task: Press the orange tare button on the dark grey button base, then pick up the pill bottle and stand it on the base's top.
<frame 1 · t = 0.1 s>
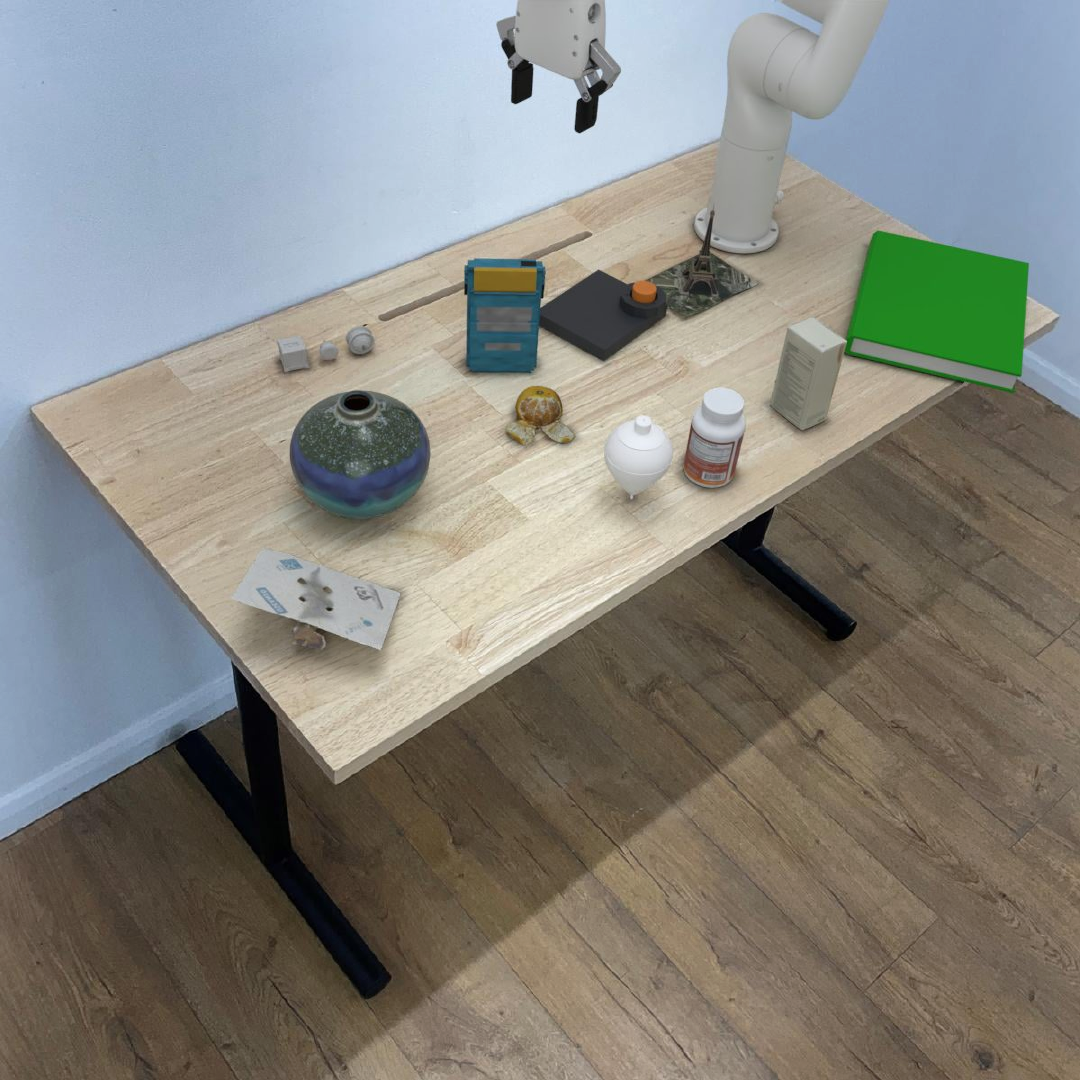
hand: (552, 114, 138), 29 cm above the table, tool pointing down, fingers open, 9 cm apart
fruit: (535, 427, 143), on the table
spinning top: (630, 500, 135), on the table
book: (935, 316, 164), on the table
eiffel tower figurine: (696, 287, 166), on the table
teal case: (501, 367, 151), on the table
card: (295, 636, 119), on the table
cosmetic box: (796, 413, 148), on the table
toy set: (331, 356, 148), point 2 cm above the table
vase: (363, 492, 133), on the table
tare button: (644, 292, 157), point 4 cm above the table, slide at 0.1 cm
pill bottle: (707, 473, 139), on the table
dark grey button base: (600, 319, 159), on the table
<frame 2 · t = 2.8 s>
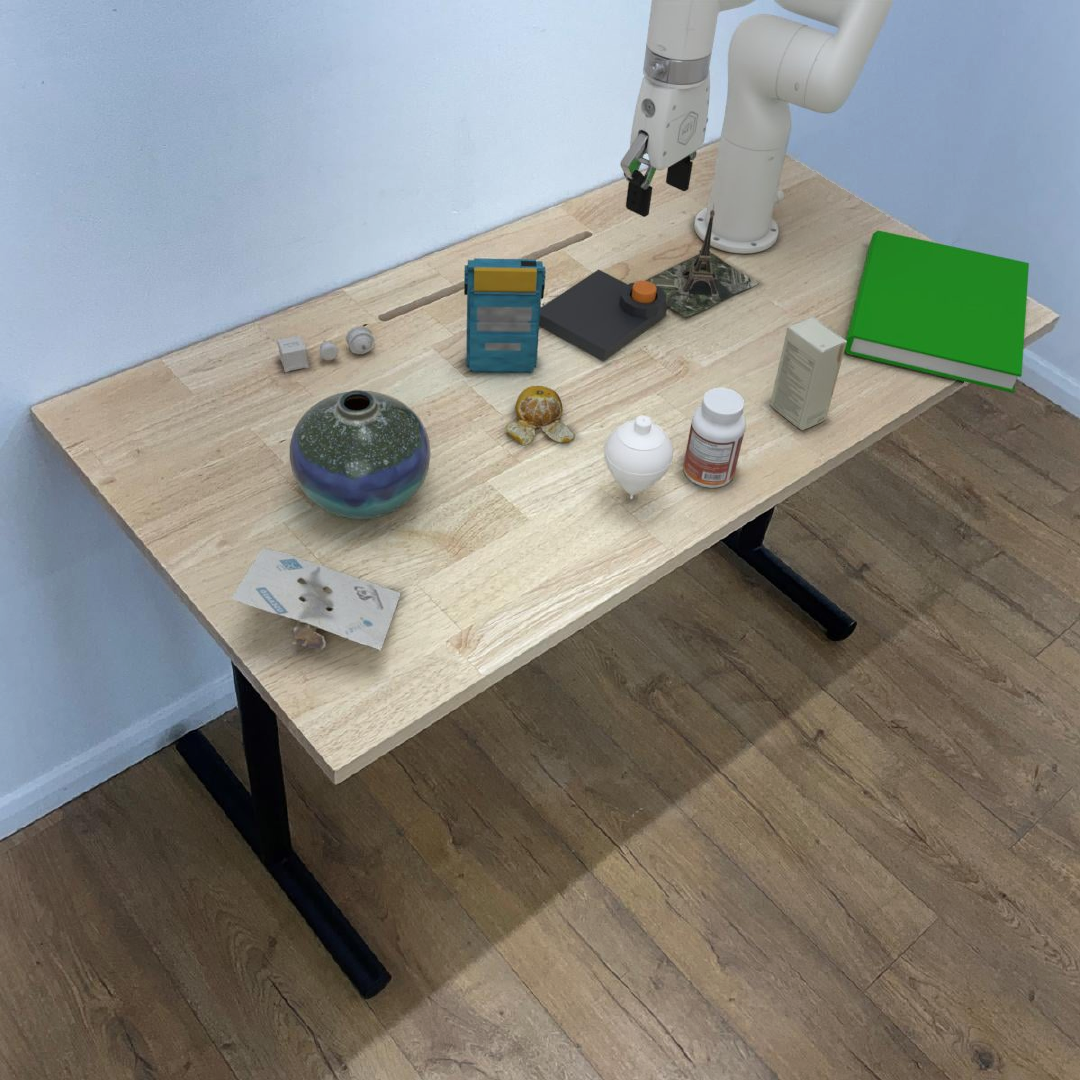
hand: (657, 198, 147), 18 cm above the table, tool pointing down, fingers open, 7 cm apart
nothing on the table moved.
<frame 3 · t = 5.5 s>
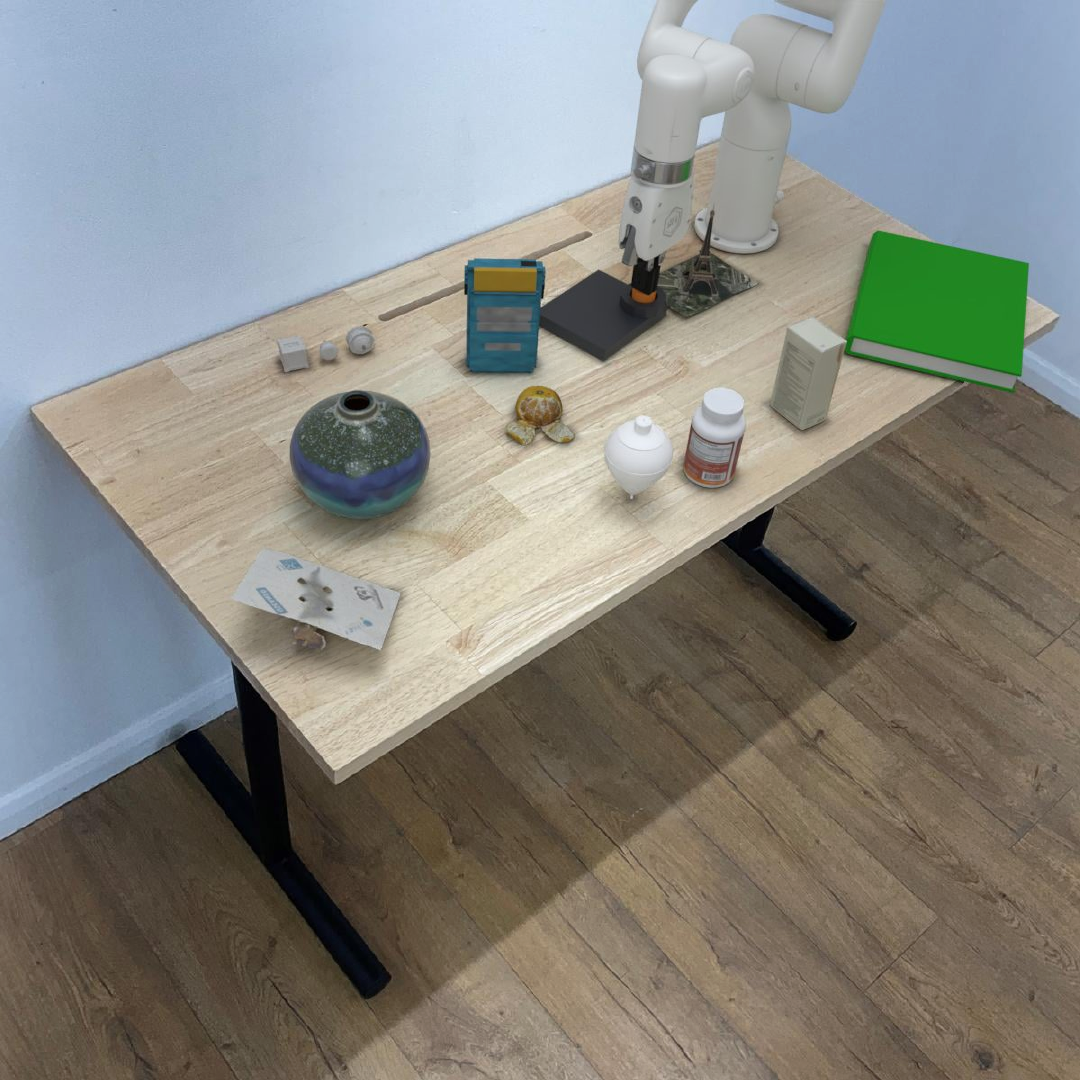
hand: (643, 288, 156), 5 cm above the table, tool pointing down, fingers closed
tare button: (643, 292, 157), point 4 cm above the table, slide at 0.0 cm, touching gripper
everything else where it was.
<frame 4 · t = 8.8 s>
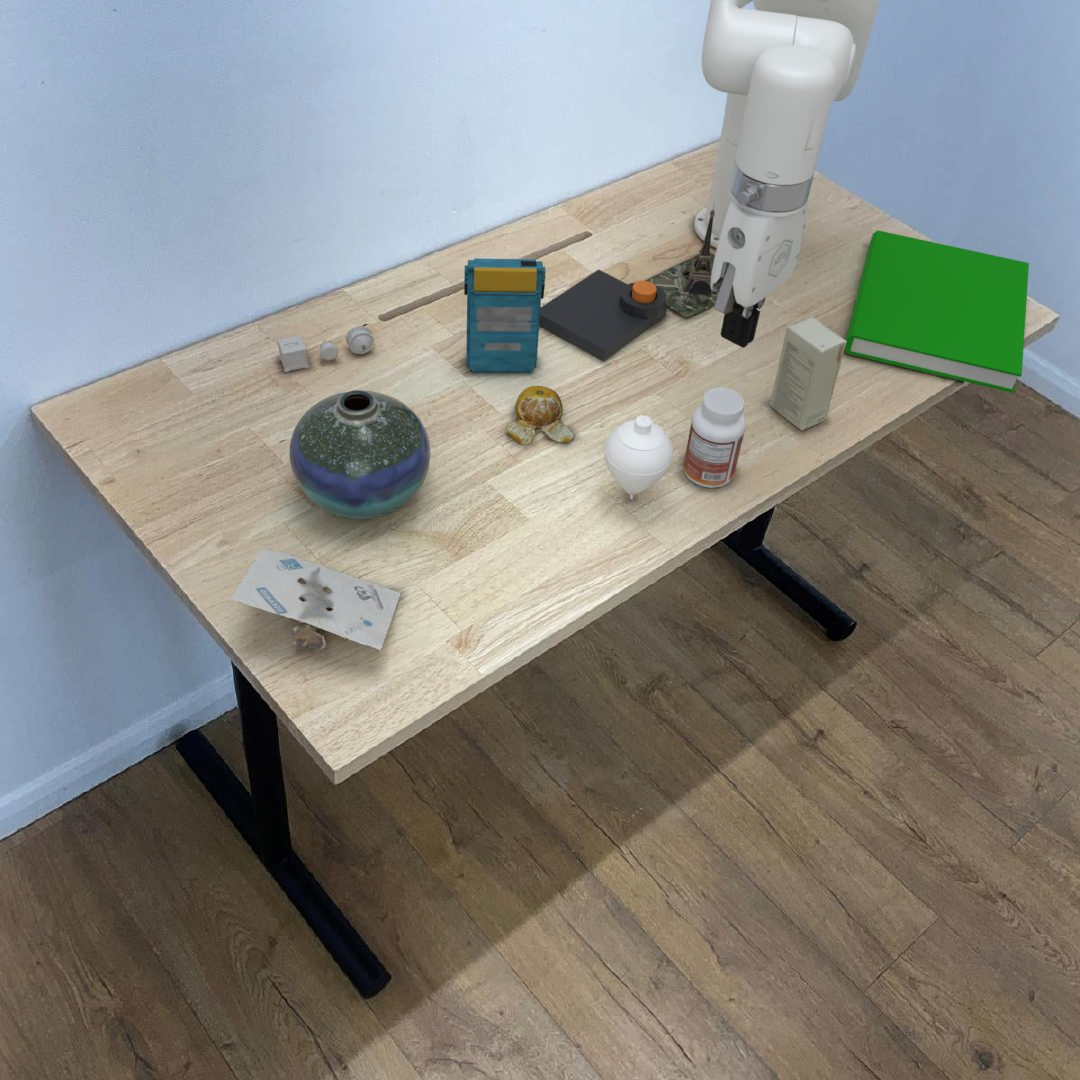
hand: (736, 338, 125), 19 cm above the table, tool pointing down, fingers closed
tare button: (644, 292, 157), point 4 cm above the table, slide at 0.1 cm
everything else where it was.
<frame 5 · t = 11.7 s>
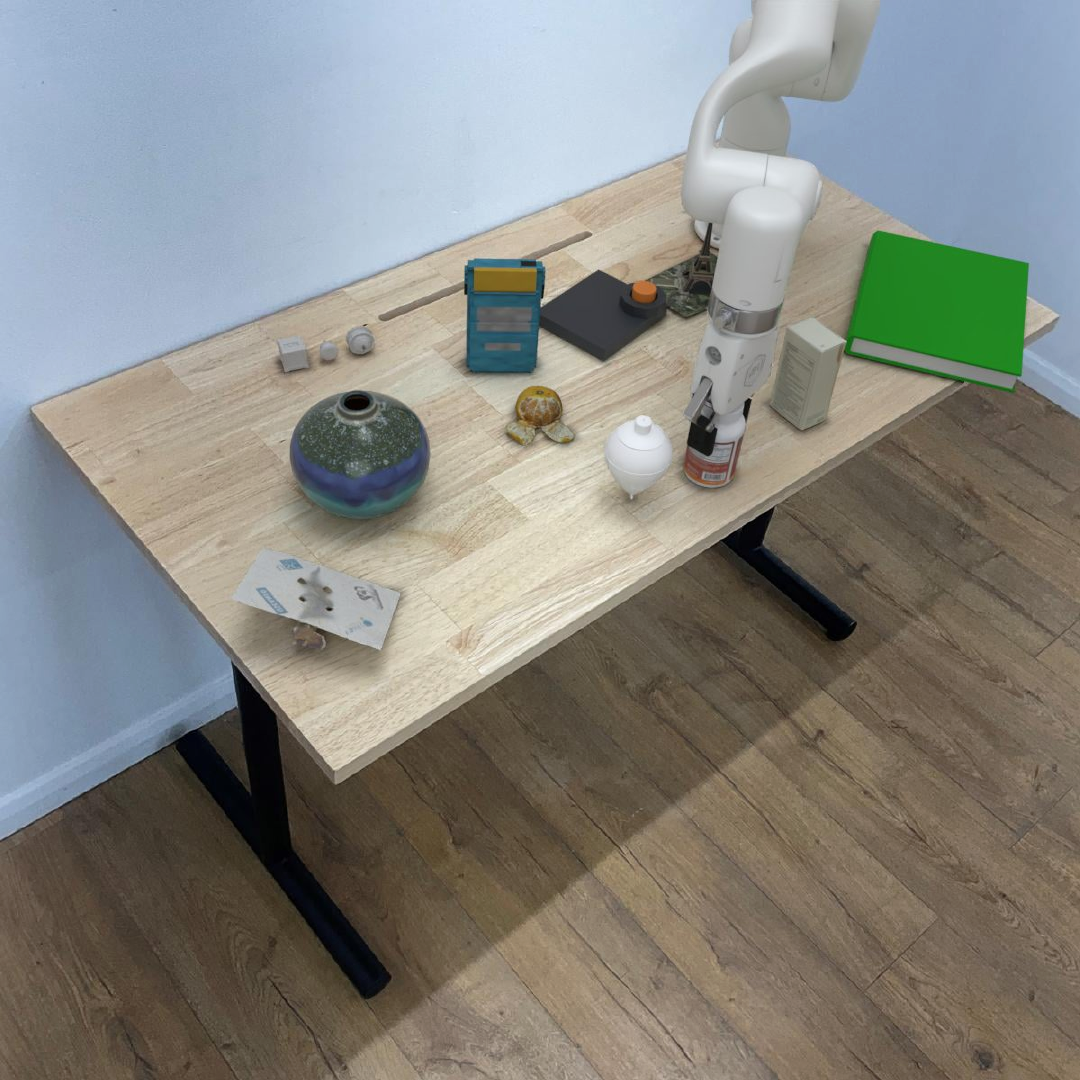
hand: (716, 434, 135), 6 cm above the table, tool pointing down, fingers closed on pill bottle, 6 cm apart
pill bottle: (707, 473, 139), on the table, touching gripper
everything else where it was.
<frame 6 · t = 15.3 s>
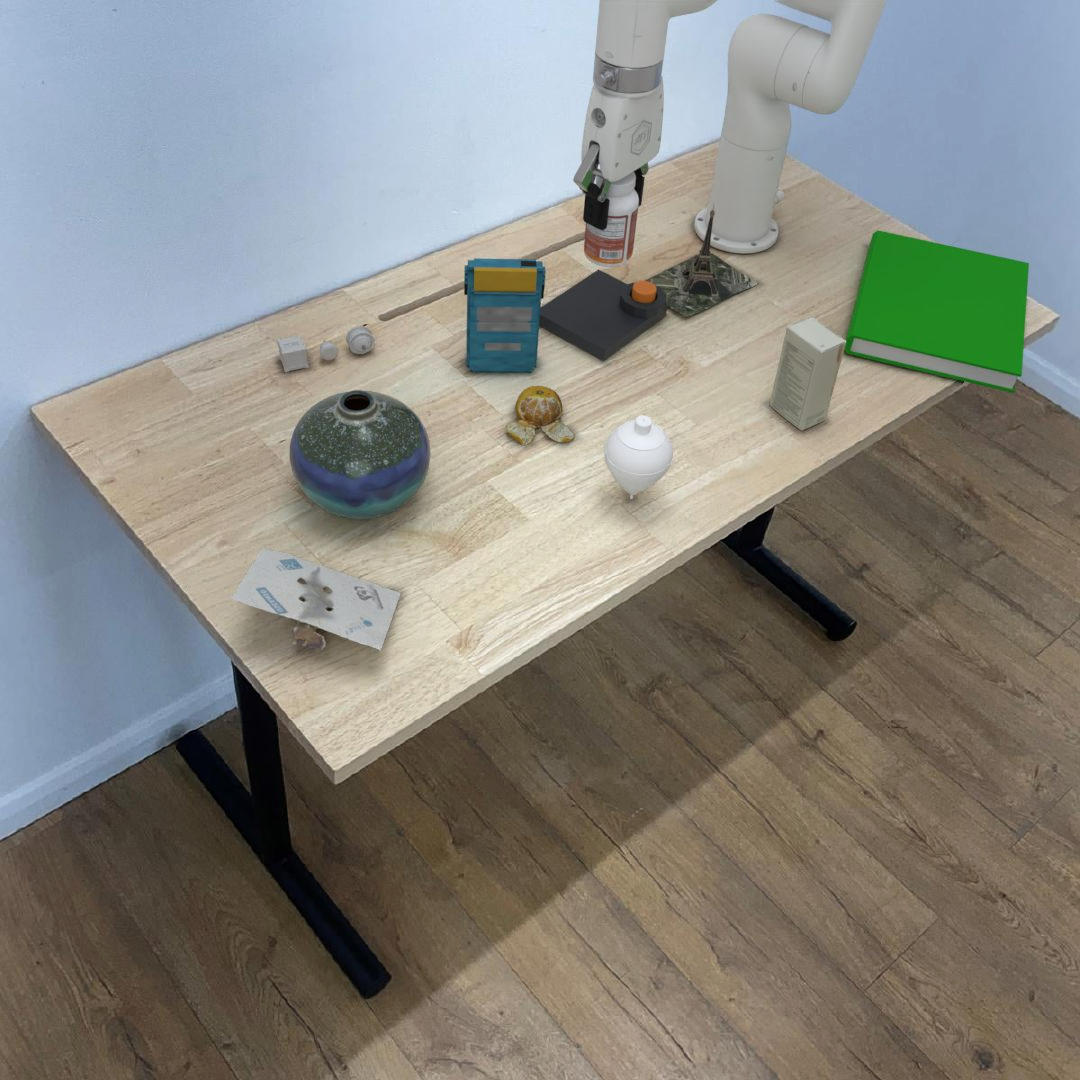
hand: (612, 212, 142), 19 cm above the table, tool pointing down, fingers closed on pill bottle, 6 cm apart
pill bottle: (607, 256, 146), point 13 cm above the table, touching gripper
everything else where it was.
when the fingers open (8 cm above the table, at t = 18.8 s): pill bottle stays where it is, resting on dark grey button base.
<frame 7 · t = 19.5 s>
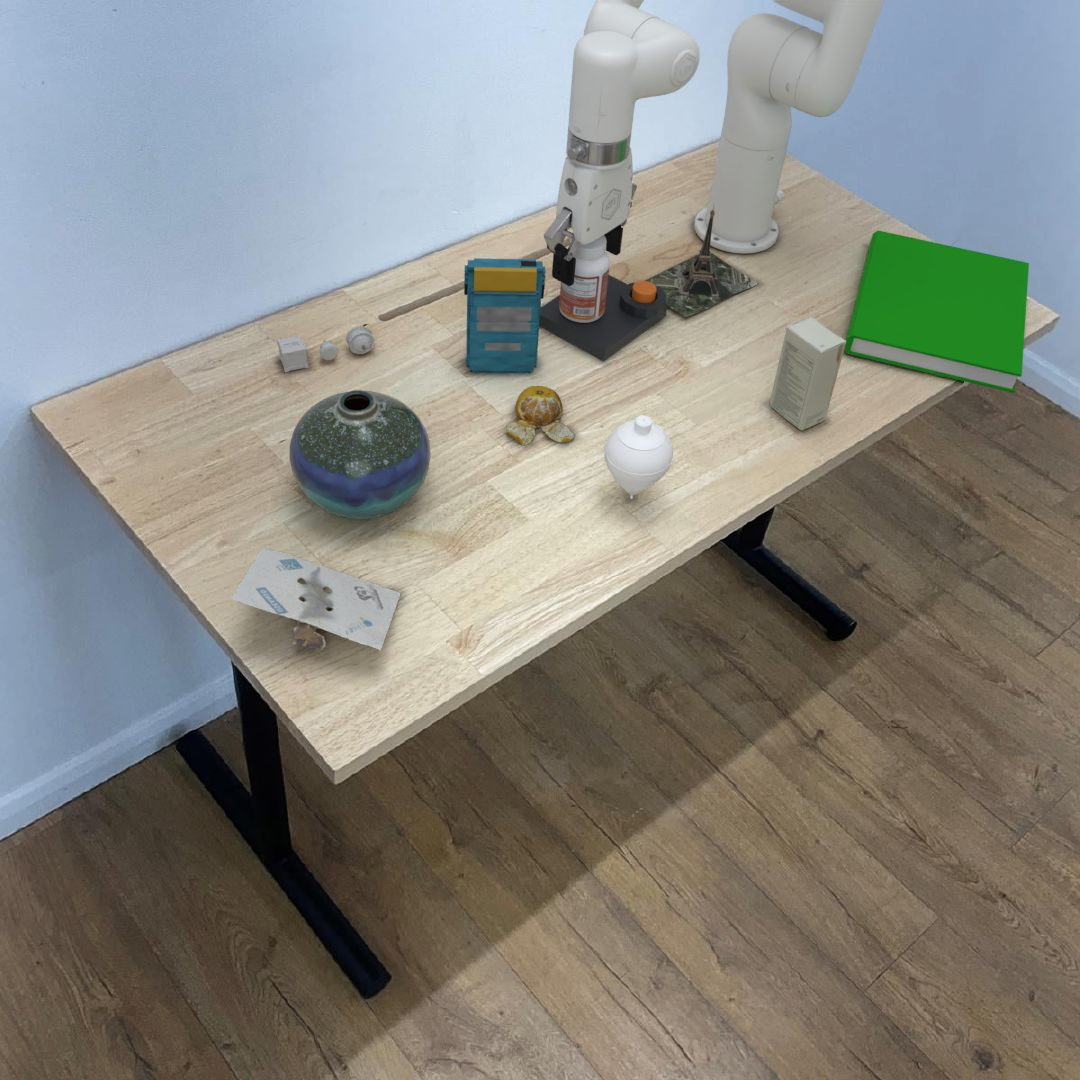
hand: (586, 265, 152), 9 cm above the table, tool pointing down, fingers open, 9 cm apart
pill bottle: (581, 312, 157), point 2 cm above the table, touching dark grey button base
everything else where it was.
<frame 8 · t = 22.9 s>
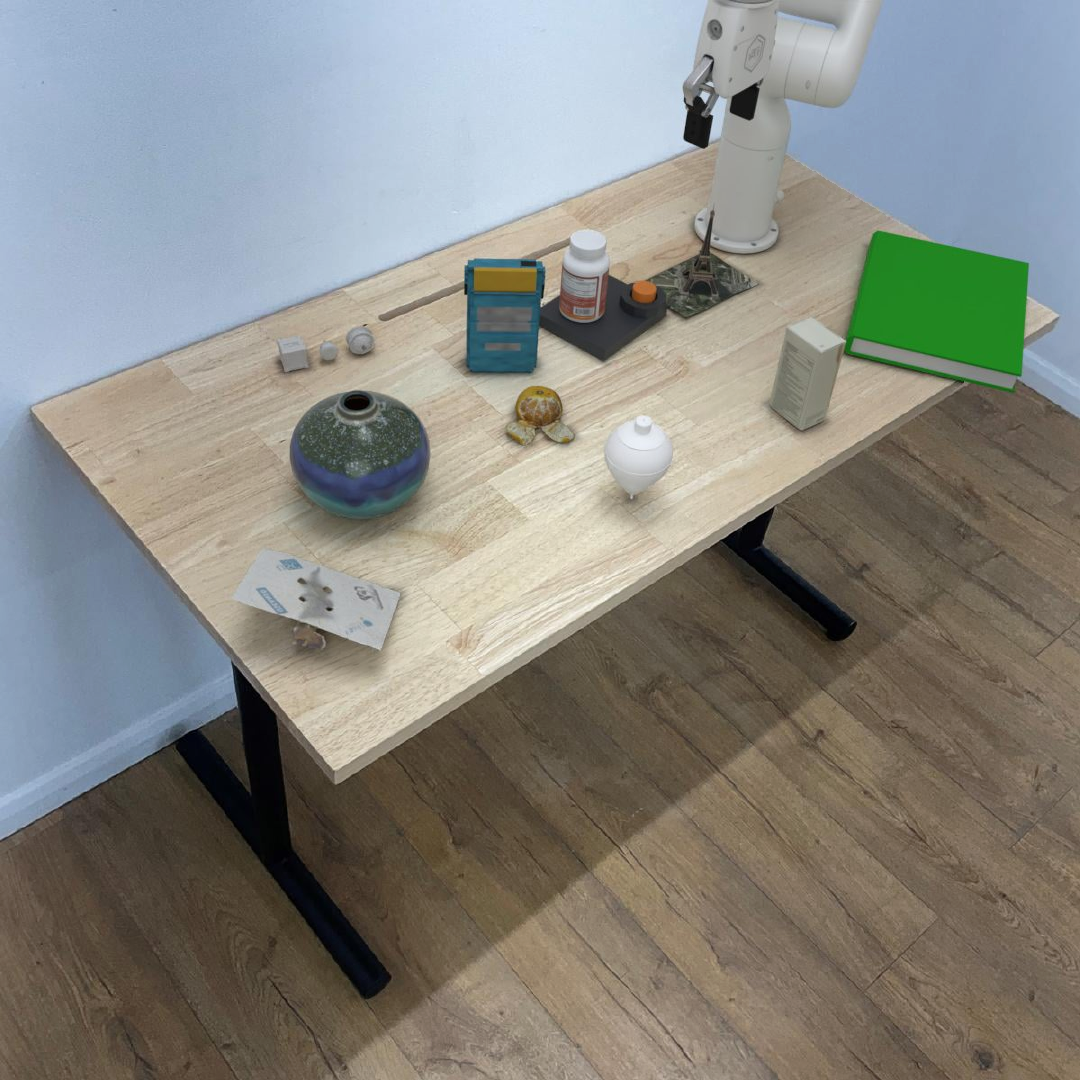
hand: (718, 129, 139), 28 cm above the table, tool pointing down, fingers open, 9 cm apart
nothing on the table moved.
at the end: tare button pushed in 0.9 cm at the most during the clip, back to where it started at the end; pill bottle inside the target area on the dark grey button base (2.9 cm from its centre), point 1.7 cm above the dark grey button base's base; pill bottle tilted 0° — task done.
